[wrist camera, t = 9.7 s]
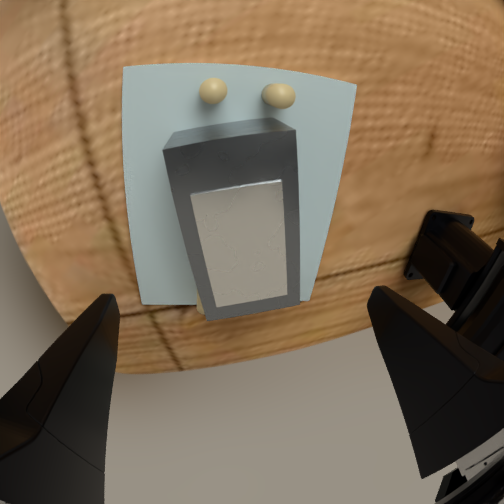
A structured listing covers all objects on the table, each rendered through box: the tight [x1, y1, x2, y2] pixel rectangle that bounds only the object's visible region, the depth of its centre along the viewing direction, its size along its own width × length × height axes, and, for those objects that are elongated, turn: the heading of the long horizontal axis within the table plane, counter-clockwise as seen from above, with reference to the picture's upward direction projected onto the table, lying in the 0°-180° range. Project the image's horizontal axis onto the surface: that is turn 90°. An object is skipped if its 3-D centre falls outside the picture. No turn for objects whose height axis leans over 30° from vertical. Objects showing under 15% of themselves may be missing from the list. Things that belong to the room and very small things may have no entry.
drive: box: [162, 117, 300, 321], centre depth 14 cm, size 5×9×4 cm, turn 6°
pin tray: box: [122, 63, 357, 315], centre depth 15 cm, size 12×15×3 cm
